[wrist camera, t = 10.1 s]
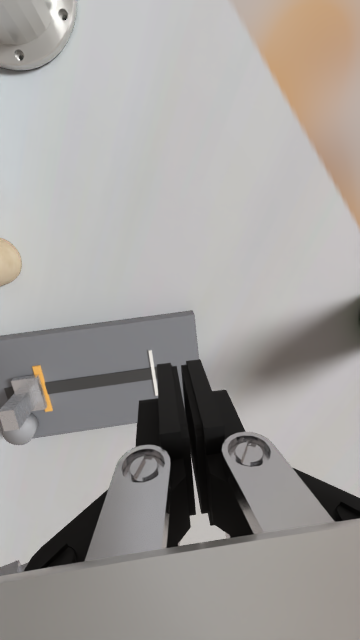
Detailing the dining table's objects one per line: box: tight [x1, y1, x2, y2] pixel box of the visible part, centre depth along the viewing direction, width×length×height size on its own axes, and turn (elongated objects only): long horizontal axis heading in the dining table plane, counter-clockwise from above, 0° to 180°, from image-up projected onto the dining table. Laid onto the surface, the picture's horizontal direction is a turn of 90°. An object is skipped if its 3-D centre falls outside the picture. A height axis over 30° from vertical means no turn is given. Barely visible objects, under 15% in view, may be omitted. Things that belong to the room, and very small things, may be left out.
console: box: [0, 311, 199, 445], centre depth 37 cm, size 14×26×4 cm, turn 96°
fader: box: [0, 375, 48, 431], centre depth 33 cm, size 4×3×6 cm
